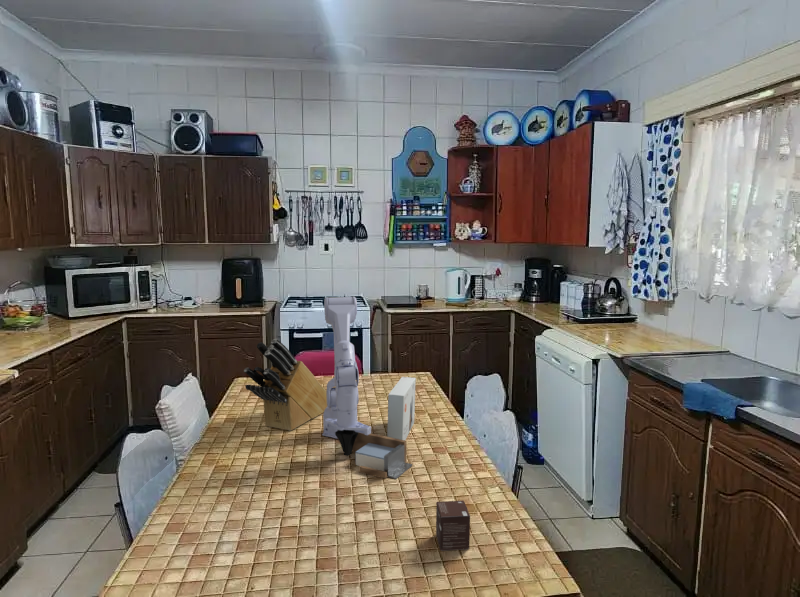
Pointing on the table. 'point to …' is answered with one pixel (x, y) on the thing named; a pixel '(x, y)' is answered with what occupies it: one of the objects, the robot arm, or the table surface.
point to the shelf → (379, 440)
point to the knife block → (286, 389)
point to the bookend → (395, 462)
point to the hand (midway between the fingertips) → (347, 454)
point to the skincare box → (401, 408)
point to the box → (452, 525)
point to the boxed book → (372, 456)
